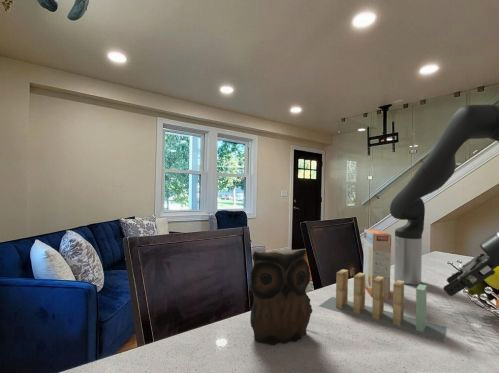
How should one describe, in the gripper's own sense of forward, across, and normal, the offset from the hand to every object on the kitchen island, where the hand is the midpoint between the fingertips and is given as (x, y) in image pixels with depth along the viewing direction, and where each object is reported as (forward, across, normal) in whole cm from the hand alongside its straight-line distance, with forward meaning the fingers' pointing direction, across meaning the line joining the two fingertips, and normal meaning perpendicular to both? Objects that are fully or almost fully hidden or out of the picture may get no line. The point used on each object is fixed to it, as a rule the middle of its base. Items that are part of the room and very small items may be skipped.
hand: (448, 287), depth 66 cm
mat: (+19, 0, -3) cm, 19 cm away
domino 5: (+12, 0, +4) cm, 12 cm away
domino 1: (+26, 0, -10) cm, 28 cm away
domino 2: (+22, 0, -7) cm, 23 cm away
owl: (+30, +25, -14) cm, 42 cm away
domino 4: (+15, 0, 0) cm, 15 cm away
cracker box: (+24, -21, -7) cm, 32 cm away
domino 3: (+19, 0, -3) cm, 19 cm away
